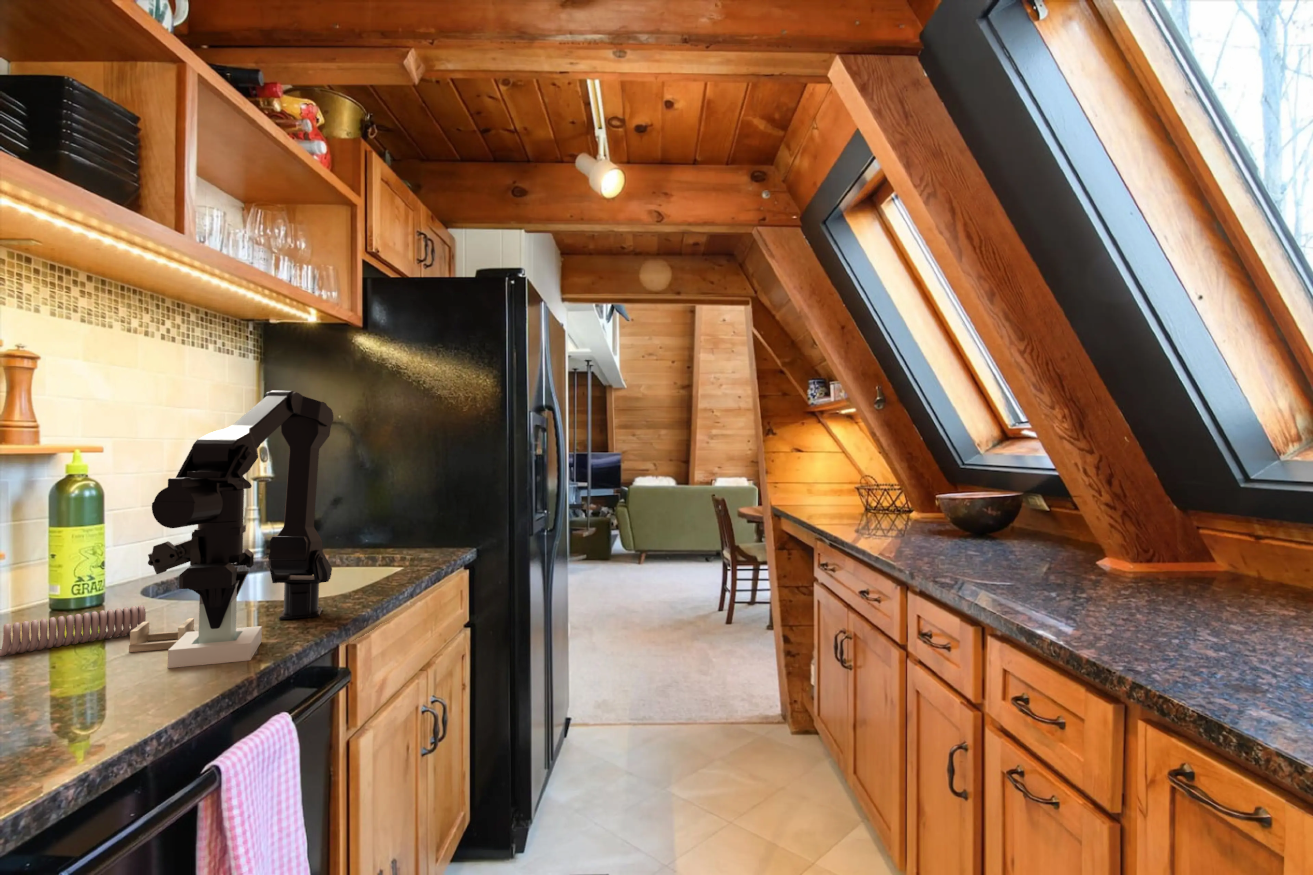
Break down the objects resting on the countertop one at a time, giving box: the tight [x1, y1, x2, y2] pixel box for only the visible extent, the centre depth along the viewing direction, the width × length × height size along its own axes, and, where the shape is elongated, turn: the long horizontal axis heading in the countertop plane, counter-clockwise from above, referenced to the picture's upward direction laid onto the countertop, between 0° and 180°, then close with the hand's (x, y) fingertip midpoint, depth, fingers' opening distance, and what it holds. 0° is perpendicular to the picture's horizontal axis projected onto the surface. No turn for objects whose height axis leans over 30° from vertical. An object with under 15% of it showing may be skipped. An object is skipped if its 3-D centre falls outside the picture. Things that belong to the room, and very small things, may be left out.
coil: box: [0, 604, 147, 657], centre depth 105 cm, size 5×5×18 cm
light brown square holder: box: [128, 617, 195, 653], centre depth 104 cm, size 7×7×3 cm
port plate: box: [167, 625, 263, 669], centre depth 100 cm, size 10×10×2 cm
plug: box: [198, 588, 238, 644], centre depth 100 cm, size 4×4×8 cm
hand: (218, 624), depth 100 cm, fingers closed on plug, 4 cm apart
